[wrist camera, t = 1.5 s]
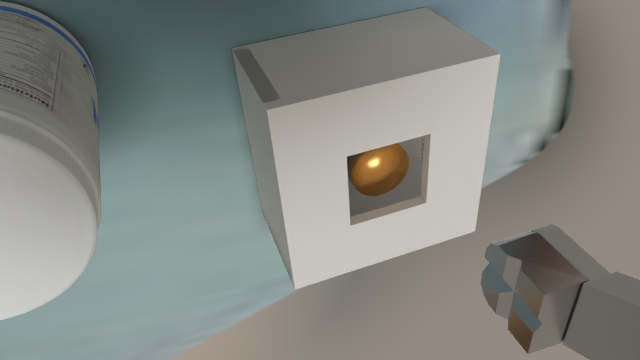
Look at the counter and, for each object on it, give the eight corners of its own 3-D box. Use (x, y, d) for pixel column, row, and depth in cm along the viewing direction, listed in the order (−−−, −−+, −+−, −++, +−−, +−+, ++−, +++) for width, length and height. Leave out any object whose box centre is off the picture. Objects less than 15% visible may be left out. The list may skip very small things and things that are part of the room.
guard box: (231, 48, 34) (266, 110, 27) (425, 7, 37) (500, 53, 30) (262, 211, 42) (294, 289, 36) (418, 167, 46) (474, 231, 39)
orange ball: (328, 121, 35) (351, 153, 32) (382, 108, 36) (410, 137, 33) (331, 169, 38) (353, 203, 35) (382, 155, 39) (408, 186, 36)
